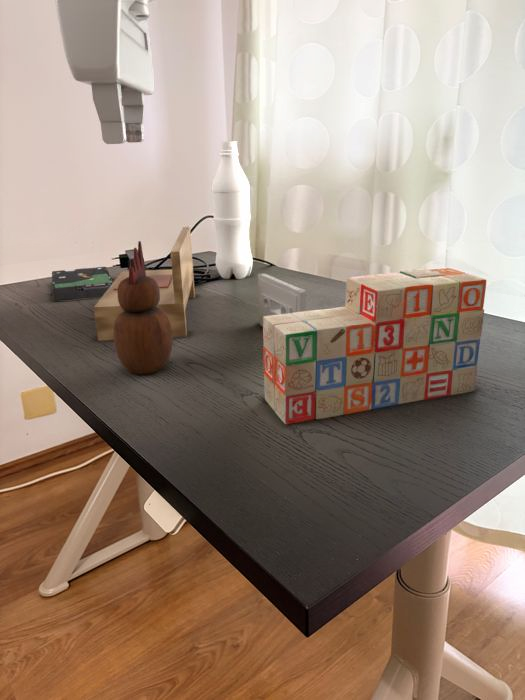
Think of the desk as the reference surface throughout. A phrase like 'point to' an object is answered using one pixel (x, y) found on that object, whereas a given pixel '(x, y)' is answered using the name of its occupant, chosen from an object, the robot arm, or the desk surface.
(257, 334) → the desk surface
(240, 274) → the water bottle
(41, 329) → the desk surface
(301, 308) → the cassette
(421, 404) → the desk surface
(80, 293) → the disk drive
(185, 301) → the wooden bookend
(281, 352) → the stack of blocks
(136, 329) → the wooden figurine
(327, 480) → the desk surface
